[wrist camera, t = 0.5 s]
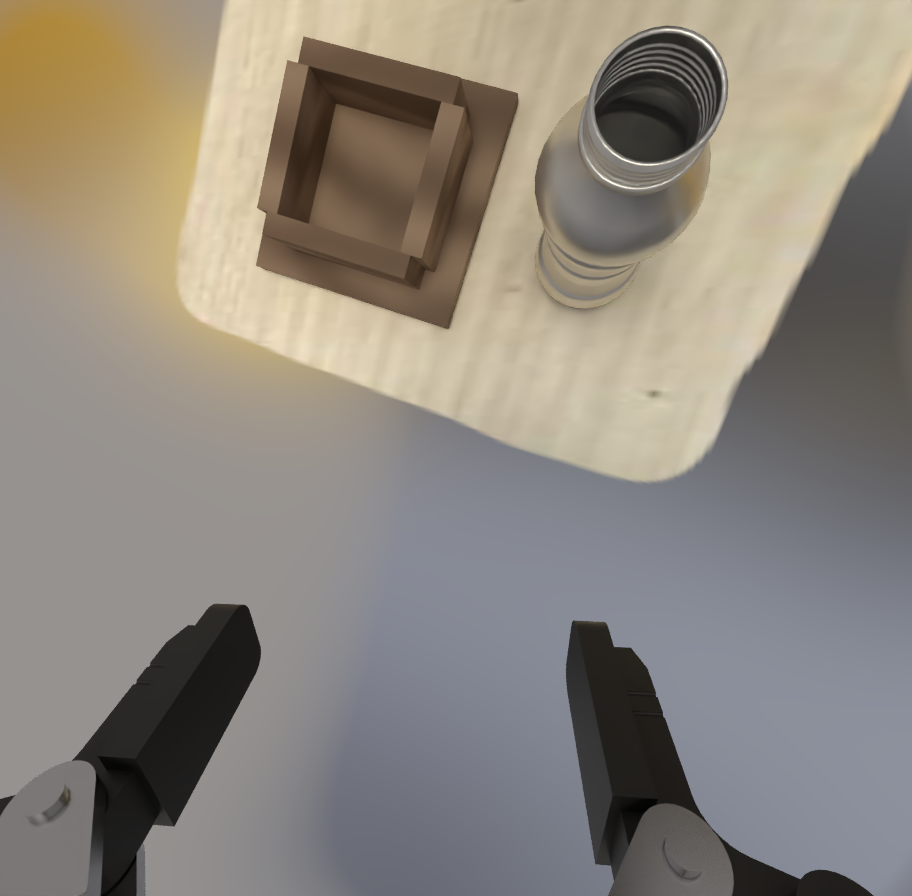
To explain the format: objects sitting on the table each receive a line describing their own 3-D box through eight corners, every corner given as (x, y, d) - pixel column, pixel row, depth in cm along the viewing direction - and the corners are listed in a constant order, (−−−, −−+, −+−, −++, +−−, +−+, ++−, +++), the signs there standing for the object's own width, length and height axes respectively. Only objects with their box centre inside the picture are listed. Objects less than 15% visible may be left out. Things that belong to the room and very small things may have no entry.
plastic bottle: (613, 324, 32) (735, 248, 13) (522, 299, 33) (506, 192, 13) (645, 231, 31) (837, -14, 11) (550, 208, 32) (577, -59, 12)
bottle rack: (310, 47, 32) (271, -10, 28) (518, 102, 31) (515, 51, 26) (263, 268, 36) (221, 252, 31) (448, 328, 34) (434, 321, 29)
